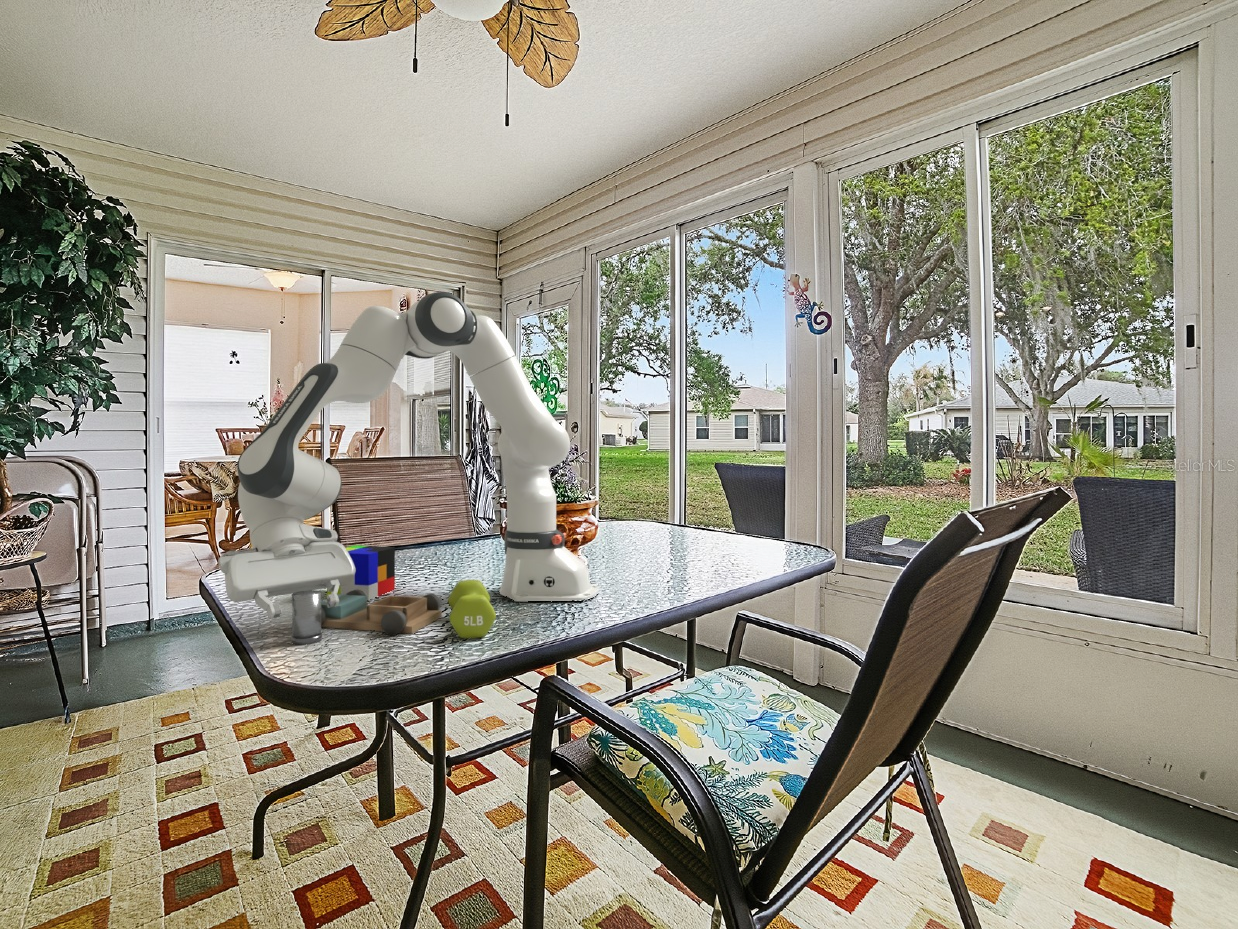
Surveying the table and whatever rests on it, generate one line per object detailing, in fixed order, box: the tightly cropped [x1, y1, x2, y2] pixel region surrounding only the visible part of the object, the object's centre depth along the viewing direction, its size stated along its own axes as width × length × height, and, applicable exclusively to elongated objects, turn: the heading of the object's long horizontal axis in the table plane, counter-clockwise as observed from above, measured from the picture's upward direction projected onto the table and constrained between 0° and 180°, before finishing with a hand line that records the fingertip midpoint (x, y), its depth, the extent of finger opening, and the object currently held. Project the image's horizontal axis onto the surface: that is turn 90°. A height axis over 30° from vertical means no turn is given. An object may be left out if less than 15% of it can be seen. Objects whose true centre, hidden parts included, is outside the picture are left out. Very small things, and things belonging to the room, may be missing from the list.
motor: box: [290, 590, 323, 646], centre depth 104 cm, size 5×5×8 cm
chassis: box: [321, 589, 443, 636], centre depth 116 cm, size 22×14×4 cm, turn 79°
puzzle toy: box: [326, 545, 396, 601], centre depth 137 cm, size 10×10×10 cm
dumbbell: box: [447, 579, 497, 639], centre depth 113 cm, size 16×8×7 cm, turn 16°
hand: (305, 610), depth 104 cm, fingers open, 8 cm apart
